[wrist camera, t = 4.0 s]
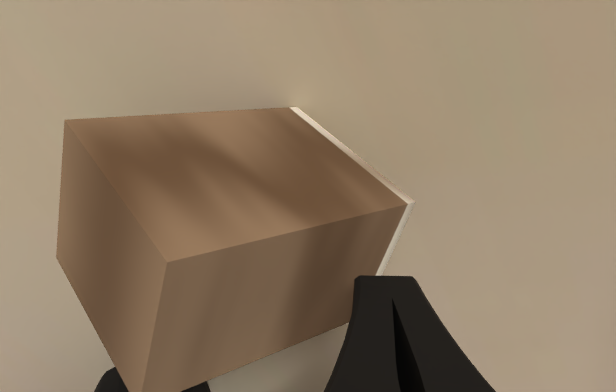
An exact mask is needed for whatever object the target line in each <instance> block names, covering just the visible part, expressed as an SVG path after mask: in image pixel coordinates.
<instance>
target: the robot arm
mask: <svg viewBox="0 0 616 392" xmlns="http://www.w3.org/2000/svg"><path fill="white" fill-rule="evenodd" d="M324 392H496V391H495V390H494V389H493V388H492V387H491V386H490V385H489V383H488V382H487V381H486V380H485V379H484V378H483V376H482V375H481V374H480V373H479V371H478V370H477V369H476V368H475V367H474V365H473V364H472V363H471V362H470V360H469V359H468V358H467V356H466V355H465V354H464V353H463V351H462V350H461V349H460V347H459V346H458V344H457V343H456V342H455V340H454V339H453V337H452V336H451V335H450V333H449V332H448V331H447V329H446V328H445V326H444V325H443V323H442V322H441V320H440V319H439V317H438V316H437V314H436V313H435V311H434V310H433V308H432V306H431V305H430V303H429V302H428V300H427V298H426V297H425V295H424V293H423V291H422V290H421V288H420V286H419V284H418V283H417V281H416V280H415V279H414V278H413V277H412V276H370V275H359V276H358V277H357V278H355V279H354V291H353V305H352V314H351V318H350V322H349V326H348V329H347V333H346V336H345V340H344V343H343V346H342V348H341V351H340V354H339V357H338V359H337V362H336V365H335V367H334V370H333V372H332V375H331V377H330V379H329V382H328V384H327V386H326V388H325V391H324Z"/></svg>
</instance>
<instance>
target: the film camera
mask: <svg viewBox="0 0 616 392" xmlns="http://www.w3.org/2000/svg"><path fill="white" fill-rule="evenodd" d="M94 392H129V391H128V389H127V387H126V385H125V383H124V382H123V380H122V378H121V376H120V374H119V372H118V371H117V369H116V367H114V368H112V369H110V370H109V371H107V372H106V373H105V374H104V375H103V376H102V378H101V380H100V382H99V383H98V385H97V387H96V389H95V391H94ZM181 392H210V389H209V386H208V384H207V381H205V382H203V383H200V384H198V385H195V386H193V387H190V388H188V389H186V390H183V391H181Z"/></svg>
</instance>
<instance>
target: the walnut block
mask: <svg viewBox="0 0 616 392" xmlns="http://www.w3.org/2000/svg"><path fill="white" fill-rule="evenodd" d="M415 203H416V202H415V201H414V200H413V199H411V198H410V197H409V196H408V195H406V194H405V193H404V192H403V191H401V190H400V189H399V188H398V187H396V186H395V185H394V184H393V183H391V182H390V181H389V180H388V179H386V178H385V177H384V176H383V175H381V174H380V173H379V172H378V171H376V170H375V169H374V168H373V167H371V166H370V165H369V164H368V163H366V162H365V161H364V160H363V159H361V158H360V157H359V156H358V155H356V154H355V153H354V152H353V151H351V150H350V149H349V148H348V147H346V146H345V145H344V144H343V143H341V142H340V141H339V140H338V139H336V138H335V137H334V136H333V135H331V134H330V133H329V132H328V131H326V130H325V129H324V128H323V127H321V126H320V125H319V124H318V123H316V122H315V121H314V120H313V119H311V118H310V117H309V116H308V115H306V114H305V113H304V112H303V111H301V110H300V109H299V108H298V107H289V108H271V109H253V110H235V111H217V112H199V113H181V114H162V115H144V116H126V117H108V118H90V119H72V120H65V123H64V139H63V156H62V172H61V188H60V205H59V221H58V237H57V254H56V258H57V260H58V262H59V263H60V265H61V267H62V269H63V271H64V273H65V274H66V276H67V278H68V280H69V282H70V284H71V286H72V287H73V289H74V291H75V293H76V295H77V297H78V298H79V300H80V302H81V304H82V306H83V308H84V310H85V311H86V313H87V315H88V317H89V319H90V321H91V323H92V324H93V326H94V328H95V330H96V332H97V334H98V335H99V337H100V339H101V341H102V343H103V345H104V347H105V348H106V350H107V352H108V354H109V356H110V358H111V359H112V361H113V363H114V365H115V367H116V369H117V371H118V372H119V374H120V376H121V378H122V380H123V382H124V383H125V385H126V387H127V389H128V391H129V392H181V391H183V390H186V389H188V388H190V387H193V386H195V385H198V384H200V383H203V382H205V381H207V380H210V379H212V378H215V377H217V376H220V375H222V374H224V373H227V372H229V371H232V370H234V369H237V368H239V367H241V366H244V365H246V364H249V363H251V362H254V361H256V360H258V359H261V358H263V357H266V356H268V355H270V354H273V353H275V352H278V351H280V350H283V349H285V348H287V347H290V346H292V345H295V344H297V343H300V342H302V341H304V340H307V339H309V338H312V337H314V336H317V335H319V334H321V333H324V332H326V331H329V330H331V329H334V328H336V327H338V326H341V325H343V324H346V323H348V322H350V318H351V314H352V305H353V291H354V279H355V278H357V277H358V276H359V275H370V276H382V274H383V272H384V270H385V267H386V265H387V263H388V261H389V259H390V257H391V254H392V252H393V250H394V248H395V246H396V244H397V241H398V239H399V237H400V235H401V233H402V231H403V229H404V226H405V224H406V222H407V220H408V218H409V216H410V213H411V211H412V209H413V207H414V205H415Z"/></svg>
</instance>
